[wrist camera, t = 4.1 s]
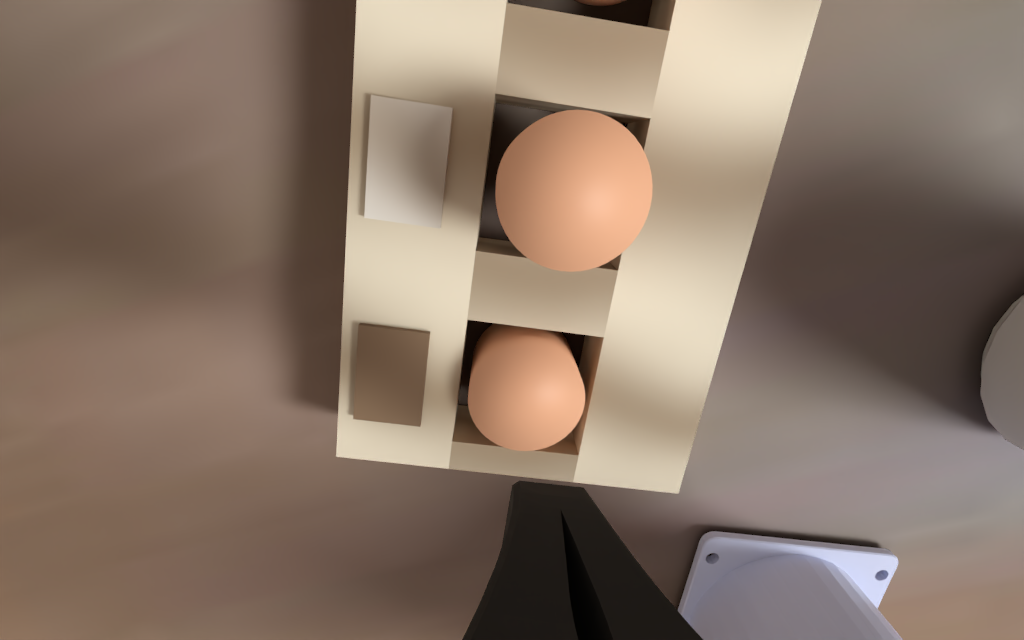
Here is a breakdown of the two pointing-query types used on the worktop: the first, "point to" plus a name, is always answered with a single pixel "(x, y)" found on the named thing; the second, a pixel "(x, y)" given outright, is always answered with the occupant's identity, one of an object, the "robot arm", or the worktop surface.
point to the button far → (524, 387)
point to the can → (1005, 375)
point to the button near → (600, 2)
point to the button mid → (573, 190)
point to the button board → (515, 278)
